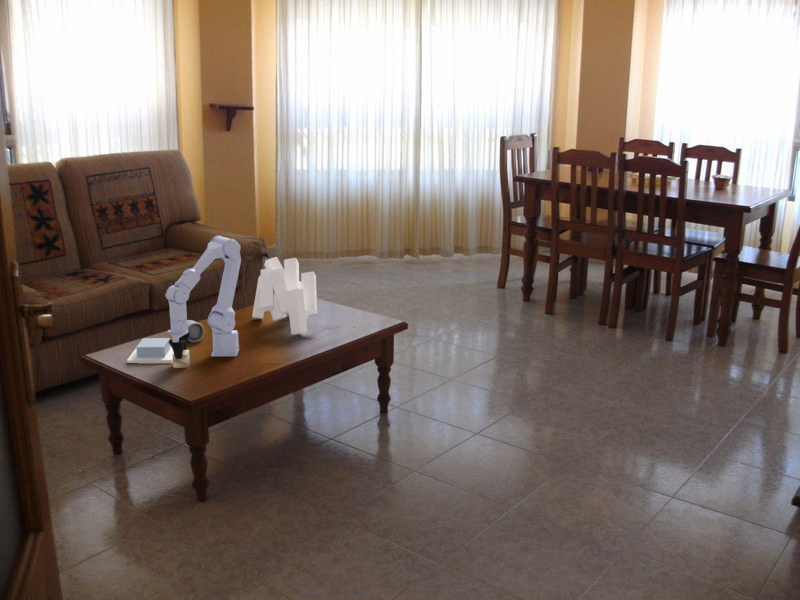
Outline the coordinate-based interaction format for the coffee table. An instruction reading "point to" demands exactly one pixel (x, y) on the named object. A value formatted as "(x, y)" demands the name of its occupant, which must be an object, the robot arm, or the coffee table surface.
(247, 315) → the coffee table surface
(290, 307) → the pile of blocks
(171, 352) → the plinth base
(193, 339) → the ceramic mug
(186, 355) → the birch cube
